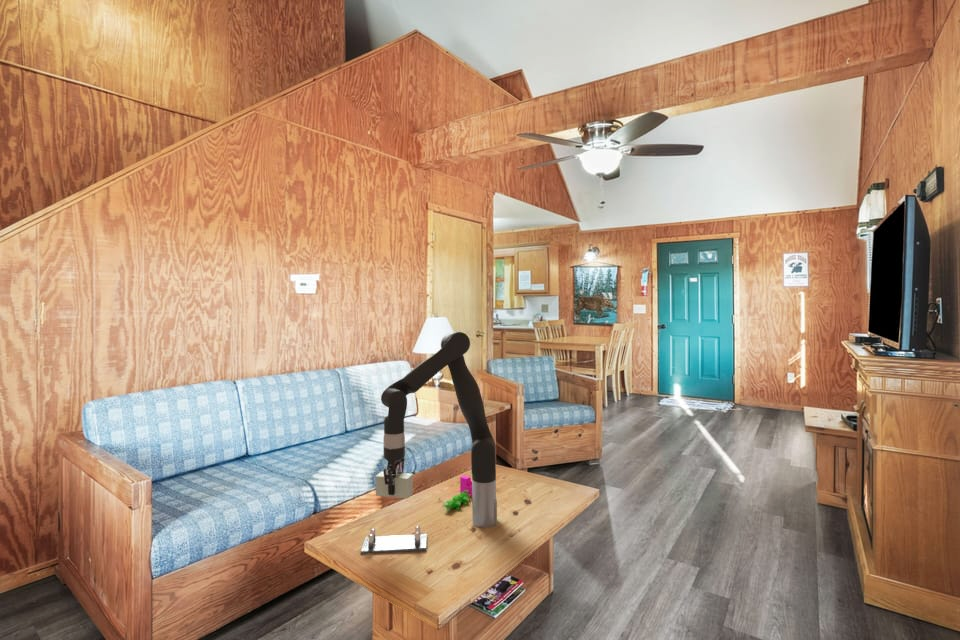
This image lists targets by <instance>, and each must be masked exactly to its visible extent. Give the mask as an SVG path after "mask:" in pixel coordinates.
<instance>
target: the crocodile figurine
mask: <svg viewBox="0 0 960 640" xmlns="http://www.w3.org/2000/svg"><path fill="white" fill-rule="evenodd" d="M467 492H468V490H464V492H463V493H462V492H461V494H460V493H458V494H457V495H454V496H453V497H452V499H449V500H447V501H445V502H444V503H443V506H444V508H445V509H446V511H447V512H449V510H450V509H451V510H452V509H454V508H455V510H460V506H461V505H464V506H465V505H467V503H468V500H469V498H471V497H470V494H469V495H468V496H467V494H466V493H467Z"/></svg>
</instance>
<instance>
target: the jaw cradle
mask: <svg viewBox="0 0 960 640" xmlns="http://www.w3.org/2000/svg"><path fill="white" fill-rule="evenodd" d="M414 527H415V529H414V531H415V532H414V534H399V535H397V534H396V535H380V536H379V535H377V536H376V528H375V527H371V528H369V534H368V536H365V537H364V540H363V543H362V546H361V550H360V555H365V554H367V555H368V553H370V554H371V553H372V554H393V553H394V554H396V553H419V552H427V544H428V539H427V538H428V536H427V535H428V534H427V533H421V526H420V525H416V526H414ZM363 553H364V554H363ZM370 554H369V555H370Z"/></svg>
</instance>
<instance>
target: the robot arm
mask: <svg viewBox="0 0 960 640" xmlns="http://www.w3.org/2000/svg"><path fill="white" fill-rule="evenodd" d="M470 347H471V340H470V338H469V336H468V334H466V333H464V332H462V331H455V332H450V333H446V334H445V335H443V337H442V338H441V340H440V348H439V350H438V351H437V352H435V353H434V354H433V355H431V356H430V357H428V358H426V359H425V360H424V361H421V362H420V363H419V364H418V365H416V366H415V367H414V368H413V369H411V370H410V371H409V372H408V373H407V374H406V375H405V376H404V377H402V378H400V379H399V380H397V381H395V382H394V383H392V384H391V385H389V386H388V387H386V388H385V389H384V391H383V392H381V393H382V394H381V397H380V400H381V403H382V405H383V406H385V407H387V408H388V410H387V411H388V413H387V415H385V417H384V420H383V421H384V422H383V459H384V460H386V461H387V464H386V468H384V469H383V471H384V480H385V485H388V494H389V495H394V494H395V478H396V477H397V473H405V472H404V471H405V459H406V458H405V456H406V436H405V417H406V413H407V409H408V398H407V395H410V394H416V392H418V391H420V389H421V388H423V387H424V386H425V385H426V384H427V383H428V382H429V381H430V380H431V379H432V378H433V377H434V376H435V375H437V374H438V373H439V372H441V370H443V369H444V368H446V367H447V368H448V369H449V373H450V377H451V380H452V384H453V388H454V392H455V395H456V400H457V403H458V405H459V406H458V407H459V409H460V411H461V413H462V415H463V417H464V419H465V421H466V423H467V425H468V429H469V432H470V438H471V444H472V445H471V452H470V456H471V457H470V460H471V461H470V462H471V481H472V497H471V499H472V500H471V501H472V502H471V503H472V504H471V505H472V512H471V513H472V517H471V518H472V525H474V526H475V527H478V528H481V529H483V528H484V529H486V528H488V529H489V528H492V527H494V525H495V526H498V500H497V472H496V471H497V465H496V463H497V462H496V461H497V460H496V459H497V458H496V457H497V454H496V451H497V445H496V442H495V440H494V438H493V435H492V433H491V430H490V427H489V424H488V422H487V416H486V410H485V406H484V405H485V404H484V401H483V397H482V394H481V391H480V387H479V385H478V383H477V380H476V379H475V377H474V376H473V374H472V373H471V371H470V370H469V367H468V366H467V363H466V360H465V356H464V355H465V354H467V352H468V351H469V350H470ZM392 474H394V475H392ZM392 478H393V480H392Z"/></svg>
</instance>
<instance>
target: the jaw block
mask: <svg viewBox="0 0 960 640" xmlns="http://www.w3.org/2000/svg"><path fill="white" fill-rule="evenodd" d="M392 475H394V474H392ZM413 476H414V474H413V473H408V472H403V473H397V477H396V478H395V494H394V495H389V494H388V485H385V480H384V470H382V471H380V472H379V473H377V474H376V475H375V496H377V497H387V498H388V497H389V498H399V499H409V498H410V497H411V496H412V495H413V493H414V483H413V482H414V477H413ZM392 480H393V478H392Z"/></svg>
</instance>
